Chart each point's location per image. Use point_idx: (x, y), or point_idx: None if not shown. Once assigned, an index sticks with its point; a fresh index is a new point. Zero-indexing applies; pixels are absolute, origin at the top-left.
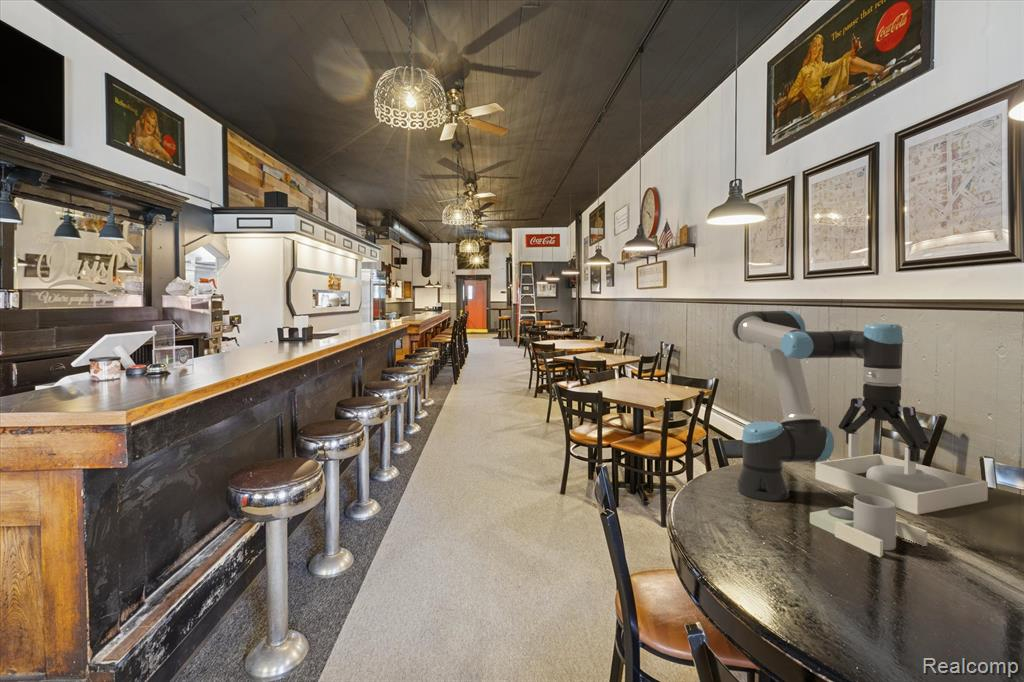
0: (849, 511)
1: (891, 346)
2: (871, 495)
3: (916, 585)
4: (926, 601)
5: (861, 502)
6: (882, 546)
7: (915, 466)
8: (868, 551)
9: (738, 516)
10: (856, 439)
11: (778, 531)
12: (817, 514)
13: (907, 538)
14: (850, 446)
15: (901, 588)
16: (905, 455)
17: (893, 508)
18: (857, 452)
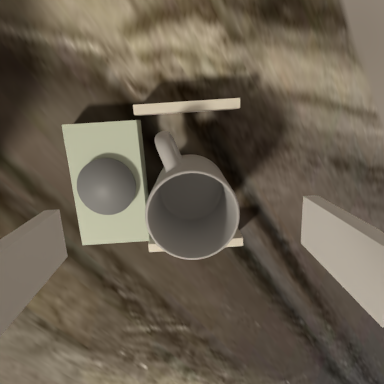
0: (105, 166)
1: None
2: (159, 186)
3: (314, 260)
4: None
5: (191, 259)
6: (240, 233)
7: (333, 206)
8: None
9: (38, 339)
10: (4, 274)
11: (111, 316)
12: (94, 236)
13: (202, 111)
14: (34, 290)
15: (311, 287)
16: (352, 291)
17: (239, 209)
18: (49, 225)
